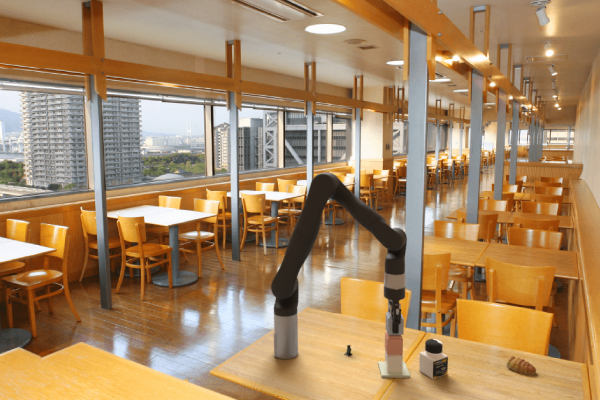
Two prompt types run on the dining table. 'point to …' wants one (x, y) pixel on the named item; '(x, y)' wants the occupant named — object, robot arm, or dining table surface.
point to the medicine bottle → (433, 359)
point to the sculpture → (348, 351)
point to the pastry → (521, 366)
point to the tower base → (393, 374)
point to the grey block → (389, 325)
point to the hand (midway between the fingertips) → (393, 329)
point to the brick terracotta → (393, 344)
